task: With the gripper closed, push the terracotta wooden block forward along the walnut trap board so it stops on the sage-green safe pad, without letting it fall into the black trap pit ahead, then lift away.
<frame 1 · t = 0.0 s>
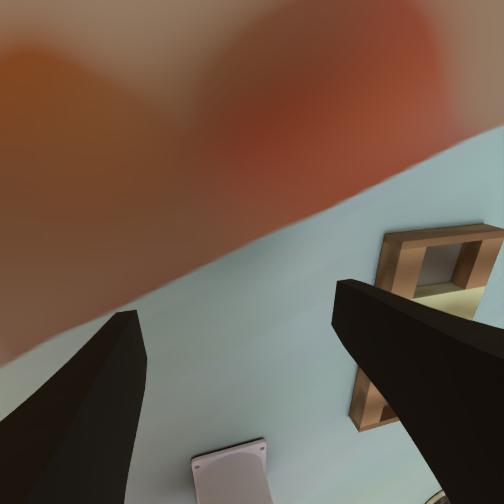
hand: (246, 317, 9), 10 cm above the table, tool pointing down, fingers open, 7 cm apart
trap board: (408, 330, 28), on the table
coffee can: (441, 499, 50), on the table
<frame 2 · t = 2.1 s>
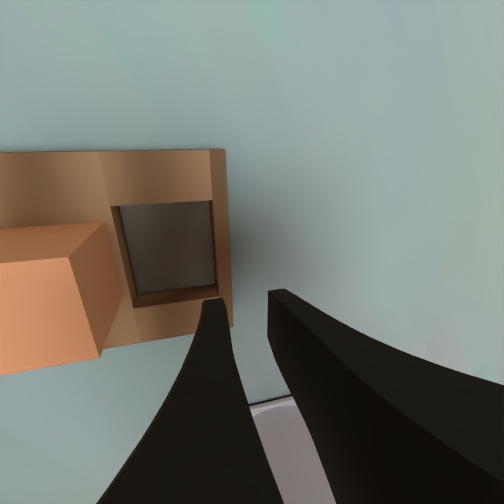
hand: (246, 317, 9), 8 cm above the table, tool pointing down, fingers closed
trap board: (18, 258, 14), on the table
block: (65, 267, 13), point 2 cm above the table, touching trap board
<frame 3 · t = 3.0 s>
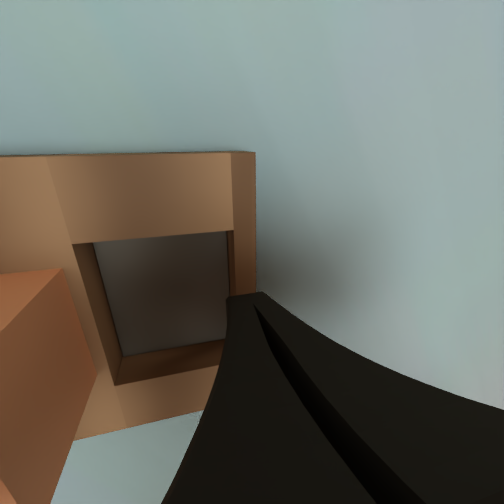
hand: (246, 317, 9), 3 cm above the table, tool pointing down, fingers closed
block: (4, 338, 8), point 2 cm above the table, touching trap board
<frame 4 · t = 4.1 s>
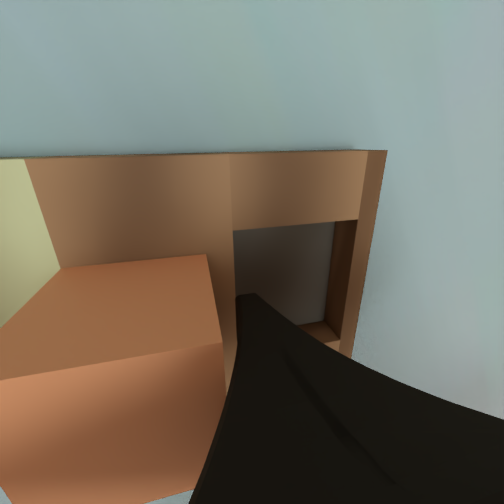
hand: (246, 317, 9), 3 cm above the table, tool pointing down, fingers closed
trap board: (91, 297, 11), on the table
block: (148, 316, 9), point 2 cm above the table, touching gripper, trap board
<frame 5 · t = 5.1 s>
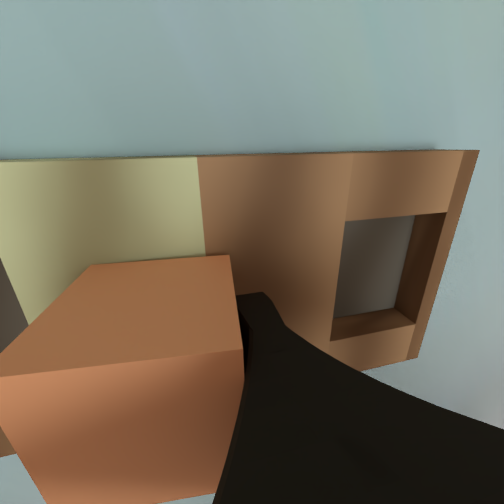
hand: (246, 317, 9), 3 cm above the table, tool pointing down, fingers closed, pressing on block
trap board: (201, 283, 12), on the table
block: (171, 315, 10), point 2 cm above the table, tilted 6°, touching gripper, trap board
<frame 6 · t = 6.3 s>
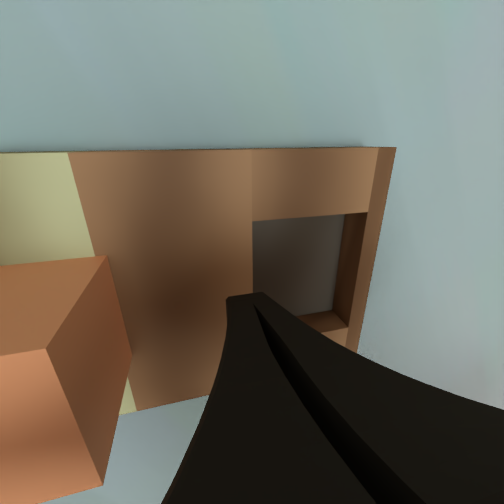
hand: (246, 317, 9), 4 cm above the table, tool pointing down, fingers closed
trap board: (115, 285, 11), on the table
block: (52, 319, 9), point 2 cm above the table, touching trap board
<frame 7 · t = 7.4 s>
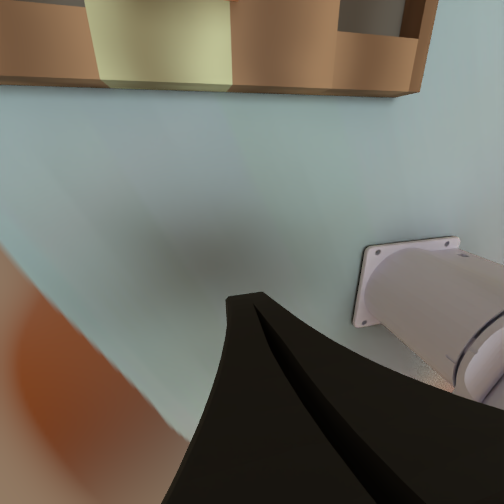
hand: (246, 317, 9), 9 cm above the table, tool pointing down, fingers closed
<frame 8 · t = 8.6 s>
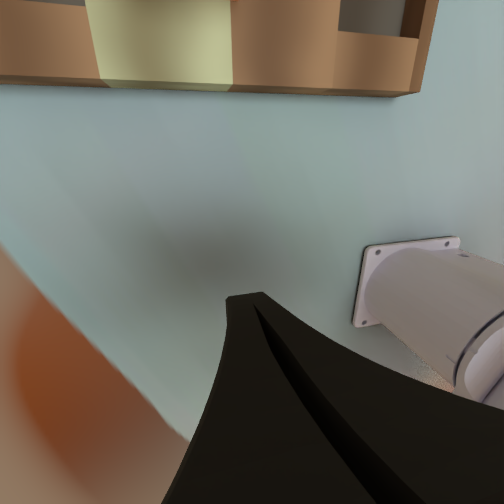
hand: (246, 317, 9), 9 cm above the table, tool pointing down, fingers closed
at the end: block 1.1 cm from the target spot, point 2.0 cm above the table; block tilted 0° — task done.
